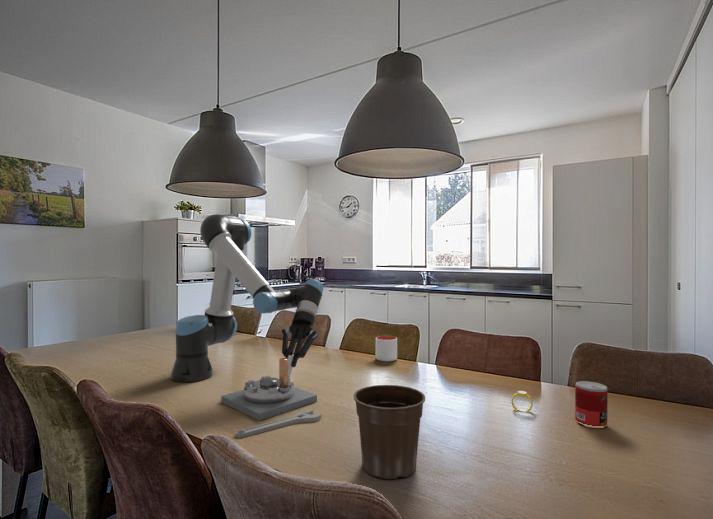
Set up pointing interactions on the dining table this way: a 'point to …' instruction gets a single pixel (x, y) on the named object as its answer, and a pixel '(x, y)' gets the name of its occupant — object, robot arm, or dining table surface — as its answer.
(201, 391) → the dining table surface
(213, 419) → the dining table surface
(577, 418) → the canned food
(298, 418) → the adjustable wrench
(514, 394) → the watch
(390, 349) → the cup
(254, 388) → the metal rotary base
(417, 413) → the plant pot
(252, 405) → the base plate
